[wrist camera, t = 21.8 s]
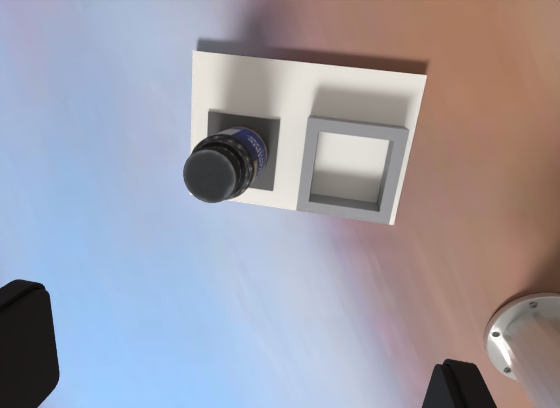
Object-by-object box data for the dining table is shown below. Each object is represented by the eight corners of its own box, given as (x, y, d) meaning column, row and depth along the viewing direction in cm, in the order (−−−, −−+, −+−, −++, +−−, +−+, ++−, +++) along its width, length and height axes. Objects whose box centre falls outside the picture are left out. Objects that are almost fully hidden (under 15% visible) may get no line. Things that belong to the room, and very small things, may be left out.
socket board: (424, 75, 37) (434, 75, 33) (392, 221, 42) (397, 235, 39) (196, 51, 40) (181, 48, 36) (193, 191, 45) (179, 202, 41)
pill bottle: (274, 173, 41) (253, 205, 31) (224, 184, 43) (187, 217, 32) (260, 119, 40) (233, 132, 29) (208, 131, 41) (164, 149, 30)
